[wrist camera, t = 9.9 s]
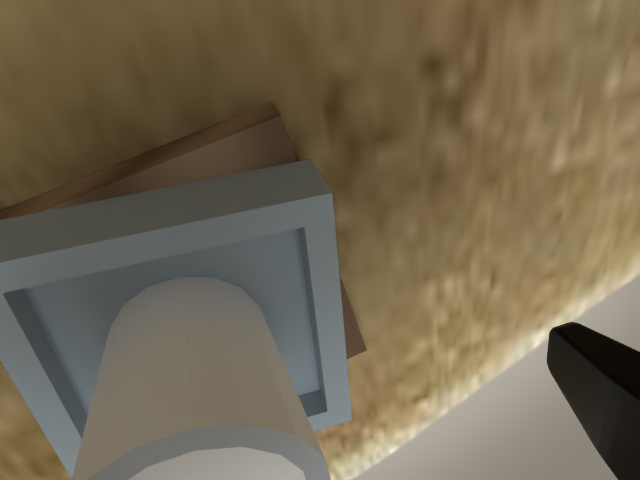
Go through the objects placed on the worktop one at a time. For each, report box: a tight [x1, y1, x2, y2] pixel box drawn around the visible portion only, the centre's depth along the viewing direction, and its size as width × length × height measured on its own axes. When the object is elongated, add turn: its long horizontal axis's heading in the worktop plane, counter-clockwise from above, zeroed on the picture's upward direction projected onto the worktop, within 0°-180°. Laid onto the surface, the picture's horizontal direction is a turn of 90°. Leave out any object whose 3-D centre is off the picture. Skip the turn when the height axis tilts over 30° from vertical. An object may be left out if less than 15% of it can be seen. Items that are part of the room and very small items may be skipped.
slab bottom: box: [0, 102, 366, 359], centre depth 22 cm, size 12×12×2 cm
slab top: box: [0, 159, 352, 478], centre depth 19 cm, size 11×11×3 cm
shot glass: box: [72, 277, 331, 480], centre depth 16 cm, size 7×7×7 cm
